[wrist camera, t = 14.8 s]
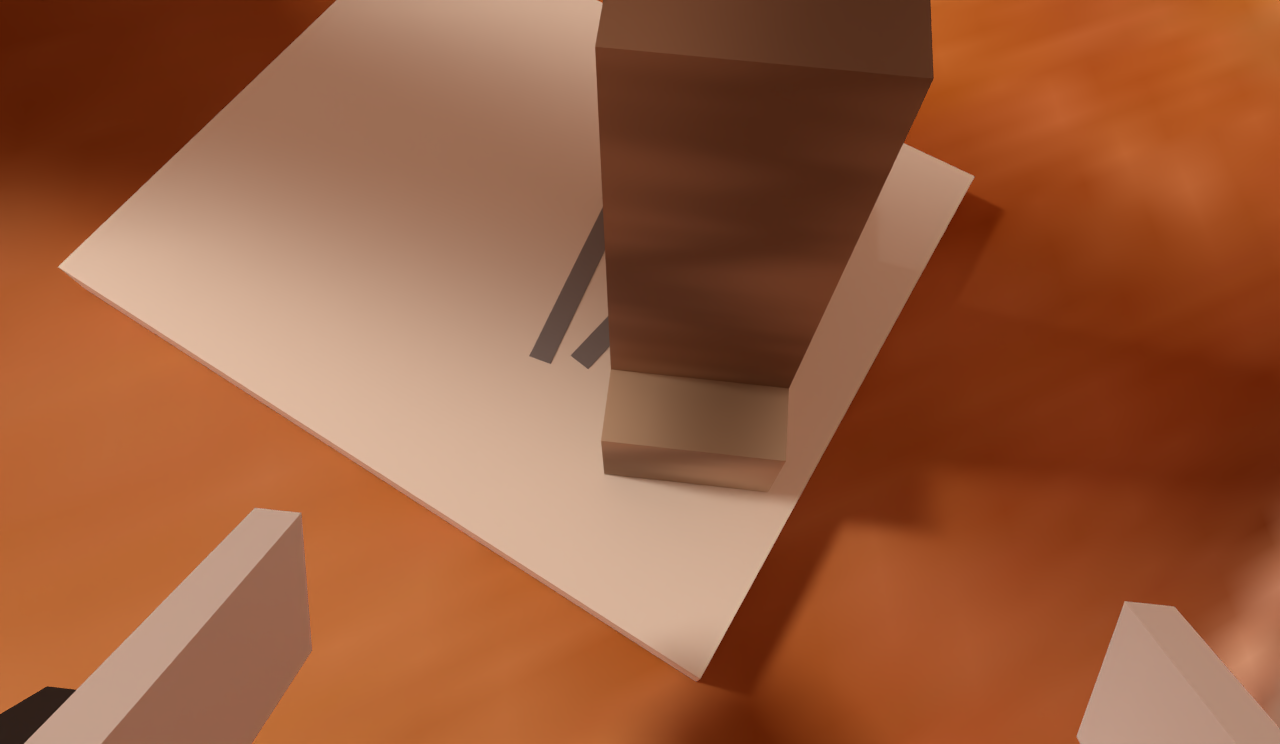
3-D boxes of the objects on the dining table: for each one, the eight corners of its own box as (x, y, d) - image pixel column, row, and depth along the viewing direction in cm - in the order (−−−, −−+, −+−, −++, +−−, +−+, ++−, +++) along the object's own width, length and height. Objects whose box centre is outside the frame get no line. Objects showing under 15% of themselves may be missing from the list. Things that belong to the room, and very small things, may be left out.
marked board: (84, 288, 23) (57, 266, 22) (429, -51, 29) (421, -82, 28) (696, 682, 19) (700, 678, 18) (959, 200, 25) (975, 175, 24)
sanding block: (604, 474, 20) (573, 162, 9) (644, 173, 24) (658, -310, 13) (767, 491, 20) (938, 198, 9) (783, 187, 24) (918, -290, 13)
